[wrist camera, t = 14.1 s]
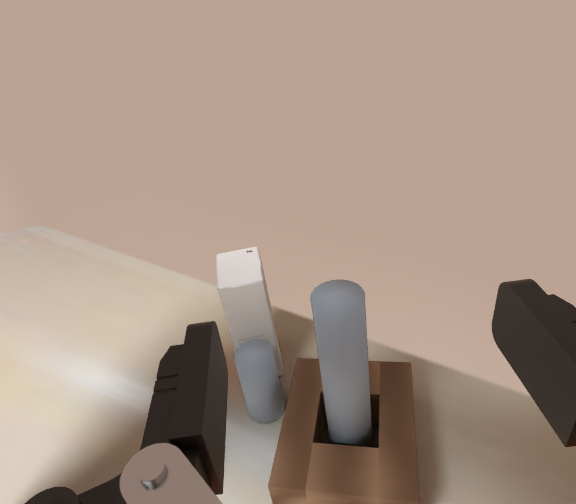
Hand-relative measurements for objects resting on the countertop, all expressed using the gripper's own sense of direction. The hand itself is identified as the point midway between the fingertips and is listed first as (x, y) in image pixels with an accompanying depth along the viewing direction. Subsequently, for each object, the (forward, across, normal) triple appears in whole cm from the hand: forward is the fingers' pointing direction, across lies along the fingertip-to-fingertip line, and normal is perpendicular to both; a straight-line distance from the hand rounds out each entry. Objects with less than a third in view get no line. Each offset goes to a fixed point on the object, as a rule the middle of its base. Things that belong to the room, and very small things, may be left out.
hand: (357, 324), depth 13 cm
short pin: (+18, +5, +25) cm, 31 cm away
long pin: (+12, -2, +25) cm, 28 cm away
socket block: (+12, -1, +25) cm, 28 cm away
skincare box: (+24, +6, +26) cm, 36 cm away
